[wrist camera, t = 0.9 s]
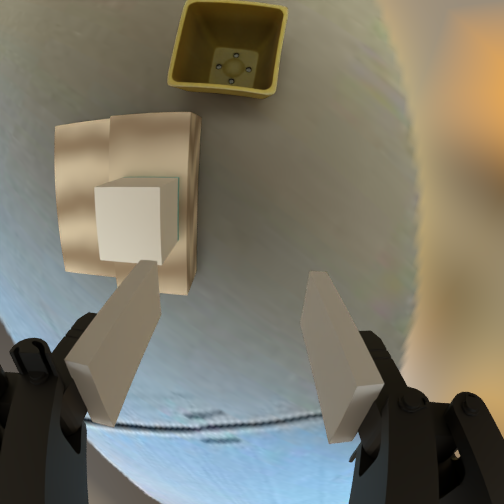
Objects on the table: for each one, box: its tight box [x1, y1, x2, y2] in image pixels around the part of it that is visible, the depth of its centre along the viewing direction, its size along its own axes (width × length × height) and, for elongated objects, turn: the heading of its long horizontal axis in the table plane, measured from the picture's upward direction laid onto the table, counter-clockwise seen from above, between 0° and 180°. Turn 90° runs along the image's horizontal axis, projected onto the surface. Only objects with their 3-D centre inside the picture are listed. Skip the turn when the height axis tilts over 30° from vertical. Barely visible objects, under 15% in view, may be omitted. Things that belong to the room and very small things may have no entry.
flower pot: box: [167, 0, 289, 99], centre depth 22 cm, size 9×9×9 cm
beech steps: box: [55, 112, 202, 295], centre depth 29 cm, size 18×17×6 cm
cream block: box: [94, 177, 179, 265], centre depth 23 cm, size 6×6×6 cm
